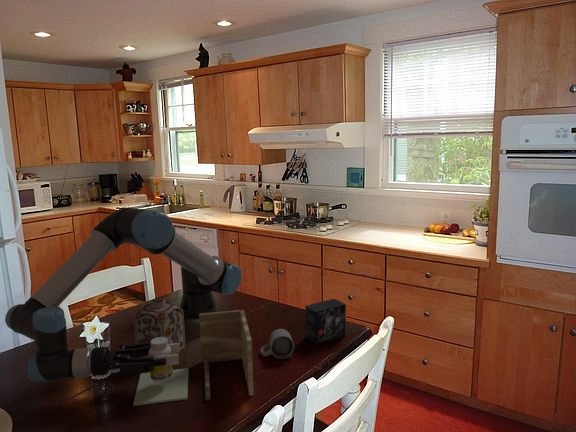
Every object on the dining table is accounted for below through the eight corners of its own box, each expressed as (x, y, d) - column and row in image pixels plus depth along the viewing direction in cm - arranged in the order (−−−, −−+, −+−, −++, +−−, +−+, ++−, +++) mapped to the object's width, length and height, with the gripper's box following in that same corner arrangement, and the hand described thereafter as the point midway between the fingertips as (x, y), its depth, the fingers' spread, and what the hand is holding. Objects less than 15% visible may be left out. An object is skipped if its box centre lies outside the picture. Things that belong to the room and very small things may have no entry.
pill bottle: (165, 369, 133) (163, 333, 131) (177, 376, 129) (174, 340, 127) (146, 377, 129) (143, 340, 127) (157, 385, 125) (154, 347, 123)
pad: (140, 375, 136) (140, 373, 136) (188, 370, 139) (188, 368, 139) (133, 405, 121) (133, 403, 120) (187, 399, 123) (187, 397, 123)
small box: (316, 345, 154) (315, 311, 152) (304, 338, 159) (304, 305, 157) (346, 335, 161) (346, 303, 159) (334, 329, 166) (334, 297, 164)
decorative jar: (135, 357, 147) (131, 304, 144) (157, 342, 158) (153, 292, 155) (166, 363, 143) (162, 309, 140) (186, 347, 154) (183, 296, 151)
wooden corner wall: (201, 361, 144) (199, 313, 141) (245, 356, 146) (243, 309, 144) (202, 401, 122) (199, 345, 119) (253, 395, 125) (251, 340, 122)
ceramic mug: (290, 346, 153) (290, 325, 152) (294, 358, 145) (293, 335, 144) (259, 349, 152) (258, 327, 150) (261, 361, 144) (260, 338, 142)
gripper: (100, 358, 134) (180, 350, 139) (85, 393, 116) (178, 383, 120) (98, 334, 133) (179, 327, 137) (82, 366, 115) (176, 356, 119)
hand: (178, 353), depth 129 cm, fingers closed on pill bottle, 6 cm apart
